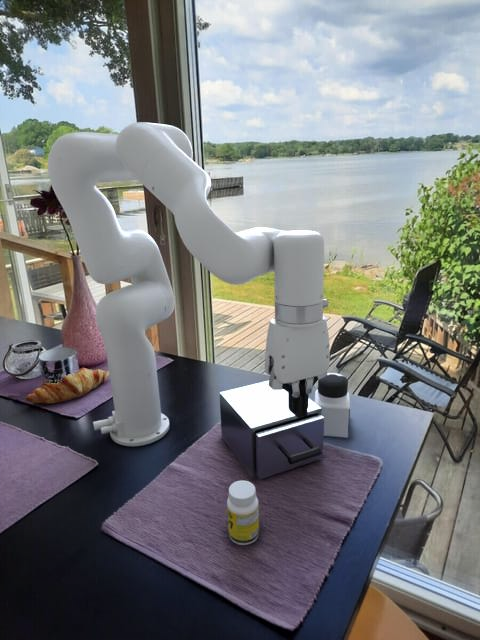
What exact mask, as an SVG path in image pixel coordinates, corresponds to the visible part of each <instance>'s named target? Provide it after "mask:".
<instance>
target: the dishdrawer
mask: <svg viewBox="0 0 480 640" xmlns="http://www.w3.org/2000/svg"><path fill="white" fill-rule="evenodd" d="M268 383H269V380H265V381H261V382H257V383H253V384H249V385H245V386H240V387H237V388H232V389H229V390H228V389H227V390H224V391H220V392H219V409H220V411H219V412H220V429H221V430H220V432H221V438H222V440H223V441H224V443H225V444H226V445H227V447H228V448H229V449H230V451H231V452H232V454H233V455H234V456H235V457H236V459H237V460H238V461H239V463H240V464H241V467H243V468H244V469H245V471H246V473H247V474H248V476H249V477H250V478H251V479H252V480H253V479H256V478H258V477H257V470H256V446H255V431H257V430H260V429H264V428H267V427H271V426H274V425H278V424H281V423H285V422H288V421H292V420H295V419H299V418H298V417H297V416H295V415H294V414H293V413H292V412H291V411H290V410H289V407H288V392H287V391H286V390H284V389H282V390H273V389H272V388H270V387H269V385H268ZM314 402H315V401H313V400H312V399H311V398H309V400H308V409H307V416H309V415H312V414H313V417H314V416H318V415H322V408H321V407H320V406H318V405H317V404H316V403H314ZM302 417H304V416H302ZM302 417H301V418H302ZM305 417H306V416H305Z"/></svg>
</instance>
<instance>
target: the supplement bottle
mask: <svg viewBox="0 0 480 640" xmlns="http://www.w3.org/2000/svg"><path fill="white" fill-rule="evenodd" d="M259 506H260V505H259V499H258V496H257V491H256V487H255V485H254V483H252V482H251V481H248V480H243V479H241V480H237V481H234V482H232V483H231V484H230V486H229V488H228V497H227V500H226V512H227V514H226V515H227V532H228V537H229V539H230V540H231V541H232V542H233V543H234V544H236V545H239V546H247V545H250V544H253V543H254V542H256V541H257V539H258V538H259V535H260V515H259V511H260V510H259V509H260V508H259Z"/></svg>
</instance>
